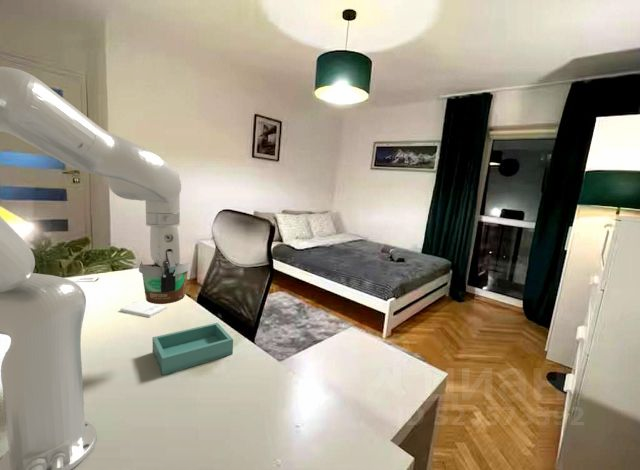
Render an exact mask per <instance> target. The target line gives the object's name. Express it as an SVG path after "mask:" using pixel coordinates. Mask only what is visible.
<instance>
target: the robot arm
mask: <svg viewBox="0 0 640 470" xmlns="http://www.w3.org/2000/svg"><path fill="white" fill-rule="evenodd" d="M0 132H1V133H7V134H9V135H12V136H14V137H16V138H18V139H20V140H21V141H23V142H25V143H27V144H28V145H31V146H32V147H35V148H36V149H38V150H40V151H42V152H44V153H45V154H47V155H48V156H50V157H52V158H54V159H56V160H58V161H59V162H61V163H63V164H65V165H66V166H68V167H70V168H73V169H75V170H78V171H82V172H84V173H87V174H92V175H95V176H100V177H105V178H107V184H108V187H109V189H110V191H111V192H112V193H113V194H114V195H116V196H117V197H119V198H122V199H124V200H129V201H130V200H131V201H142V202H143V201H144V202H145V225H146V226H147V227H149V228H150V230H149V232H150V233H149V240H150V241H149V248H150V249H149V250H150V258H151V259H152V262H153V263H152V265H153V264H158V265H159V266H161V270H162V277H161V292H162V293H165V292H171V291H175V266H176V265H179V264H180V263H181V251H180V250H181V249H180V235H179V229H178V227H179V226H180V225H181V224H180V223H181V222H180V221H181V220H180V218H181V217H180V215H181V214H180V209H181V206H180V205H181V204H180V196H181V195H180V194H181V191H182V182H181V179H180V174H179V173H178V172H177V170H175V169H174V168H173V167H172V166H171V165H170V164H169V163H167V161H165V160H164V159H163V158H161V157H160V156H159V155H157V154H156V153H154V152H152V151H151V150H149V149H147V148H145V147H142V146H140V145H138V144H136V143H133V142H131V141H129V140H127V139H125V138H123V137H121V136H120V135H117V134H114V133H111V132H109V131H107V130H105V129H104V128H102V127H101V126H99V124H97V123H95V122H94V121H93V120H91V119H90V118H89V117H88V116H86V115H85V114H84V113H82V112H81V111H80V110H79V109H78V108H76V107H75V105H72V104H71V103H70V102H69V101H68V100H66V99H65V98H63V96H61V95H59V94H58V93H57V92H56V91H55V90H53V89H52V88H51V87H50V86H48V85H47V84H45V83H44V82H43V81H41V80H40V79H39V78H37V77H35V76H34V75H33V74H30V73H29V72H27V71H25V70H22V69H19V68H14V67H9V66H8V67H7V66H0ZM163 263H168V264H163ZM175 264H176V265H175ZM35 266H36V261H35V255H34V253H33V251H32V248H30V246H29V244H28V243H27V242H26V241H25V240H24V238H22V237H21V236H20V234H18V233H17V232H16V231H15V230H14V229H13V228H12V227H11V225H9V223H7V222H6V221H5V219H4V218H2V216H1V215H0V335H4V336H5V335H6V336H8V337H10V338H9V339H10V344H9V348H8V349H7V351H6V352H5V354H4V356H3V358H2V361H1V365H0V377H1V378H0V381H1V385H2V395H3V404H4V414H5V415H4V416H5V425H6V426H5V428H6V435H7V444H8V446H7V447H8V450H7V451H6V452H5V453H4V454H3V456H2V457H1V458H0V470H73V469H74V468H75V467H77V466H78V465H79V464H80V463H81V462H83V460H84V459H86V457H87V456H88V455H89V453H91V451H92V450H93V449H94V446H95V444H96V440H97V430H96V427H95V426H94V425H93V424H92V423H90V422H88V421H85V420H86V419H85V406H84V404H85V403H84V402H85V401H84V383H83V368H82V367H83V366H82V365H83V364H82V352H81V351H82V347H81V341H82V340H81V339H82V328H83V322H84V318H85V313H86V307H87V299H86V294H85V291H84V290H83V288H81V286H80V285H78V283H76V282H74V281H73V280H70V279H68V278H64V277H61V276H56V275H52V274H51V275H50V274H44V273H43V274H42V273H36V272H34V271H35ZM165 267H168V268H167V269H166V271H165Z"/></svg>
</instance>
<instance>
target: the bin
mask: <svg viewBox="0 0 640 470" xmlns="http://www.w3.org/2000/svg"><path fill="white" fill-rule="evenodd" d="M233 351H234V339H233V338H232V336H230V334H228V332H227V331H226V329H224V328H223V327H222V326H221V324H220V323H218V322H215V323H211V324H210V323H209V324H205V325H202V326H201V325H200V326H196V327H193V328H188V329H184V330H183V329H182V330H179V331H175V332H171V333H170V332H169V333H166V334H162V335H157V336H156V335H155V336H153V337H152V354H153V357H154V359H155V361H156V364H157V366H158V368H159V371H160V373H161V375H162V376H164V375H169V374H171V373H175V372H178V371H181V370H186V369H188V368H191V367H195V366H198V365H201V364H204V363H208V362H212V361H214V360H218V359H221V358H225V357H228V356H231V355H234V354H233V353H234V352H233Z"/></svg>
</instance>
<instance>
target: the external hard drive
mask: <svg viewBox="0 0 640 470" xmlns="http://www.w3.org/2000/svg"><path fill="white" fill-rule="evenodd" d="M165 309H166V310H168V306H166V305H162V304H153V303H149V302H147V301H146V302H145V301H141V300H138V301H136V302H133V303H131V304H128V305H126V306H123V307H121V308H120V312H121V313H127V314H130V315H135V316H141V317H145V318H151V317H154V316H156V315H157V314H159V313H161V312H164V311H166V310H165ZM163 310H164V311H163Z"/></svg>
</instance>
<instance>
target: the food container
mask: <svg viewBox="0 0 640 470" xmlns="http://www.w3.org/2000/svg"><path fill="white" fill-rule="evenodd" d="M190 263H191V262H190V261H189V260H188V261H187V262H185V263H182V264H179V265H176V264H175V265H176V266H175V291H171V292H165V293H162V292H161V277H162V270H161V266H159V265H158V264H153V263H152V264H143V261H141V262H140V264H139V266H138V272H139V273H141V274H142V281H143V287H144V288H143V289H144V293H145V301H146V302H147V303H151V304H156V305H166V304H168V305H169V304H173V303H176V302H179V301H181V300H183V299H185V297H186V290H187V289H186V288H187V287H186V286H187V282H188V281H187V279H188V272H189V271H190V270H191V269H192V267H191V264H190ZM163 264H168V262H166V263H163ZM167 268H168V267H165V271H166V269H167Z"/></svg>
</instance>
